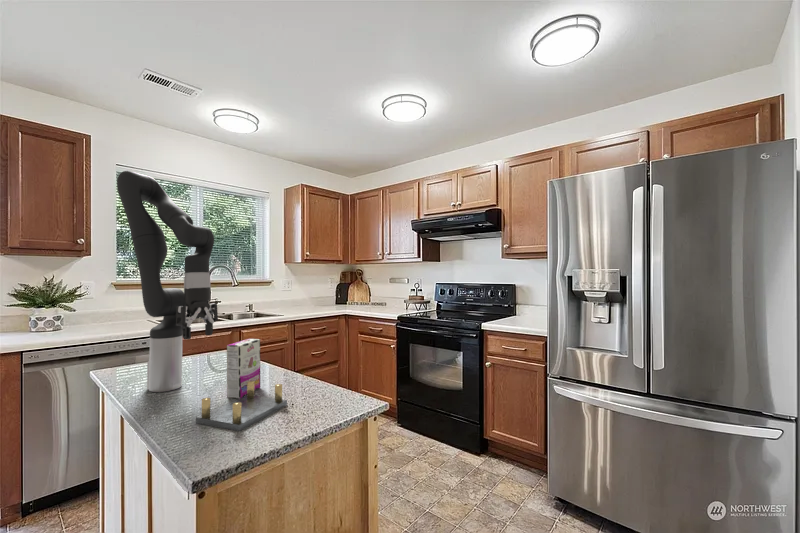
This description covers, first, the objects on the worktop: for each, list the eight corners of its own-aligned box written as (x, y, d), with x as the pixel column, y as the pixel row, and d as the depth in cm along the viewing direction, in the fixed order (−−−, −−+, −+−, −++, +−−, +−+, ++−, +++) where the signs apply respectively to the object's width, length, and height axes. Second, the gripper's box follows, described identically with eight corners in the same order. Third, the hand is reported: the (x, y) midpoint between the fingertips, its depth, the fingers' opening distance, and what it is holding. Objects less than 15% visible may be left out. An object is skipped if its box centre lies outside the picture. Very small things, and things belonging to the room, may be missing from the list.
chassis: (195, 423, 92) (196, 399, 92) (248, 399, 110) (248, 379, 110) (239, 431, 88) (239, 406, 88) (286, 405, 105) (287, 384, 105)
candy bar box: (247, 387, 122) (248, 338, 122) (260, 388, 121) (261, 338, 121) (225, 398, 111) (225, 344, 112) (239, 399, 110) (240, 345, 111)
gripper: (205, 287, 125) (206, 334, 124) (168, 287, 112) (169, 340, 111) (223, 286, 123) (224, 333, 122) (188, 286, 110) (188, 340, 109)
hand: (198, 337), depth 117 cm, fingers open, 8 cm apart
